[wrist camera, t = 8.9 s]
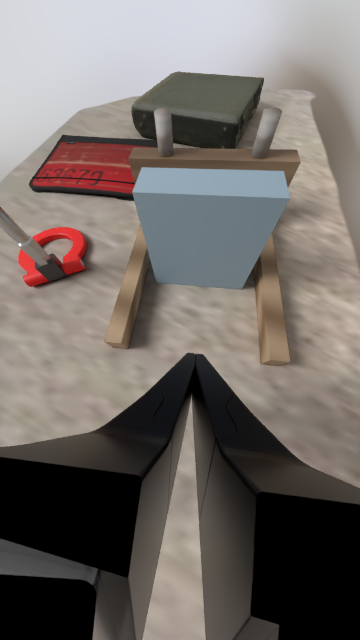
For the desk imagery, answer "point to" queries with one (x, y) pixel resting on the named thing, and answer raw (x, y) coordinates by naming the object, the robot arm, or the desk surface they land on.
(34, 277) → the tow hook
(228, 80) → the dark green electronics case
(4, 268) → the desk surface
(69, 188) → the binder
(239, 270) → the block
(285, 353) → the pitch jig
